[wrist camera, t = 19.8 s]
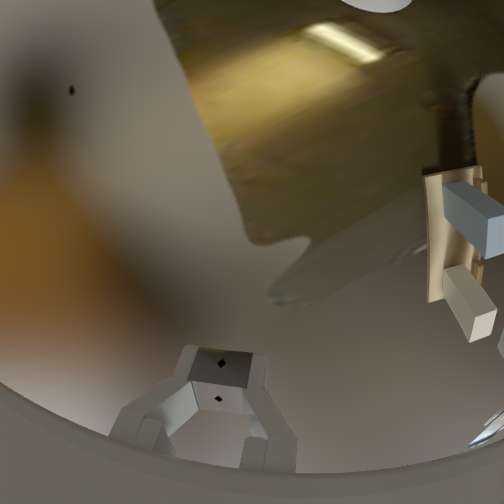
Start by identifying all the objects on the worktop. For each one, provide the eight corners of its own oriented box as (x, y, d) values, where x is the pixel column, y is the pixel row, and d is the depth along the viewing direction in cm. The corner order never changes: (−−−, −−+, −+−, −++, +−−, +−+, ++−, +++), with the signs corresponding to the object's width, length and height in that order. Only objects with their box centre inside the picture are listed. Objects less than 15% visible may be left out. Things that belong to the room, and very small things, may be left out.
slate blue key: (444, 217, 36) (485, 259, 25) (442, 185, 33) (487, 219, 23) (465, 212, 34) (508, 251, 24) (464, 180, 32) (512, 212, 22)
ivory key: (442, 293, 42) (469, 342, 31) (443, 269, 39) (475, 317, 29) (461, 287, 40) (490, 334, 30) (463, 263, 38) (497, 309, 28)
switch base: (426, 299, 44) (433, 311, 41) (422, 175, 35) (432, 182, 32) (474, 284, 41) (482, 295, 38) (478, 165, 32) (490, 171, 29)
